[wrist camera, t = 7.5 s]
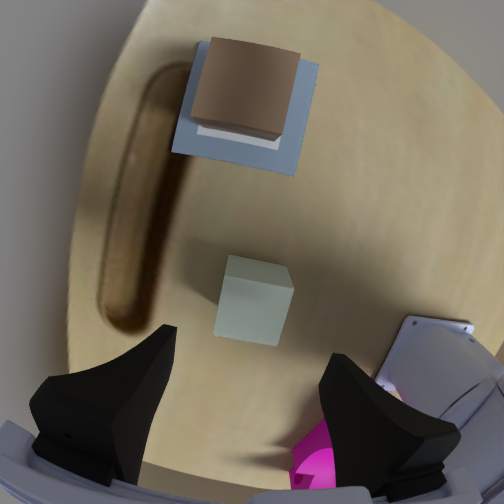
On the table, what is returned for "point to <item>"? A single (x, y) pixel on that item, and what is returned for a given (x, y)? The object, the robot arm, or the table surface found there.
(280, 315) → the sage cube
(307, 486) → the toy block
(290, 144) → the pad
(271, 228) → the table surface
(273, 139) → the walnut cube
